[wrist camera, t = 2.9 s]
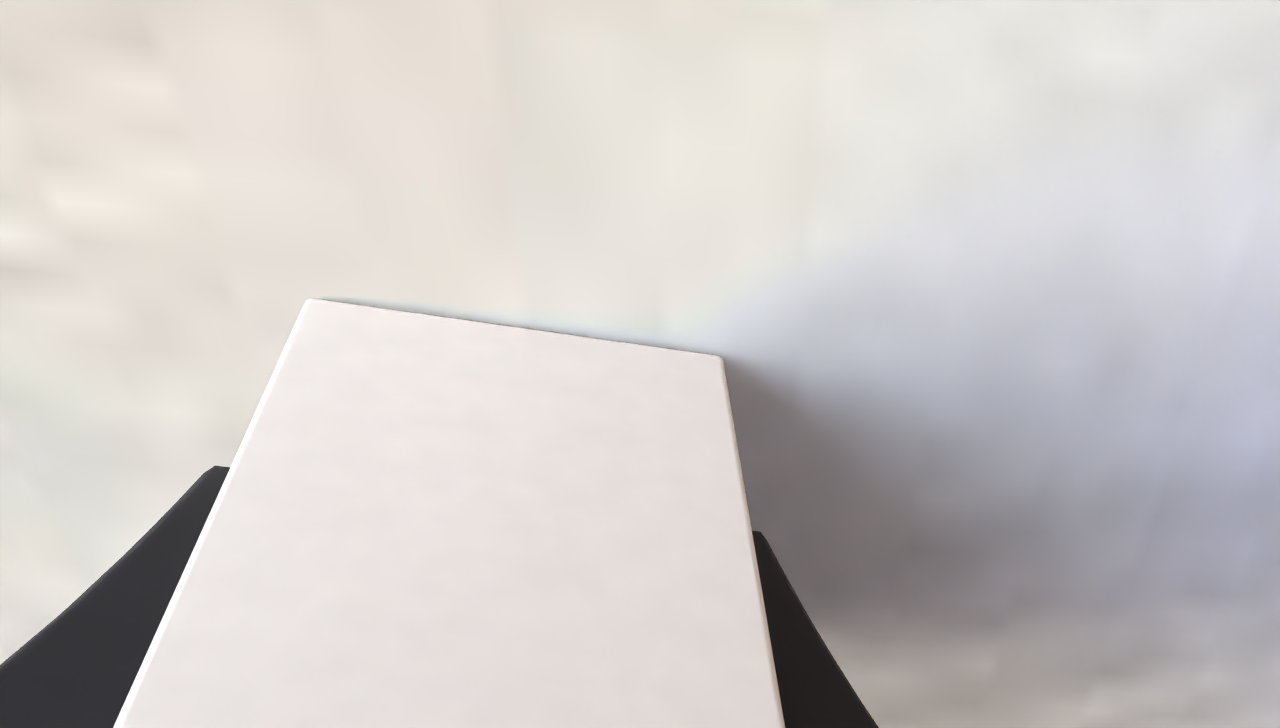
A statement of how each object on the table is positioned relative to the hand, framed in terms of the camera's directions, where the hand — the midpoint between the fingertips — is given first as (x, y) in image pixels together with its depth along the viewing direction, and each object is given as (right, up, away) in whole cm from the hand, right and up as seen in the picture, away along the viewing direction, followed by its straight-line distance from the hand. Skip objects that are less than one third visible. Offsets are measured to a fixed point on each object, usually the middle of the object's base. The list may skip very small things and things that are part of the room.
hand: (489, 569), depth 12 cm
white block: (0, +1, +1) cm, 1 cm away
